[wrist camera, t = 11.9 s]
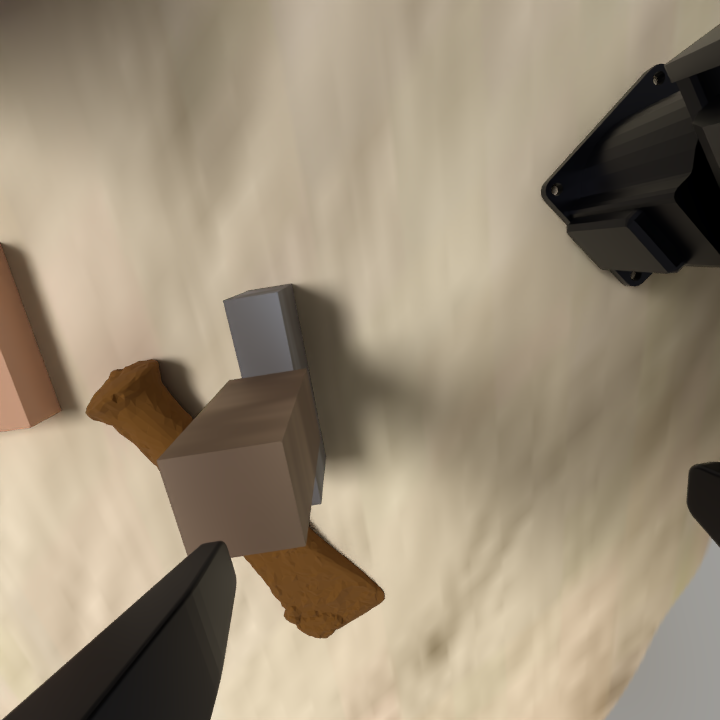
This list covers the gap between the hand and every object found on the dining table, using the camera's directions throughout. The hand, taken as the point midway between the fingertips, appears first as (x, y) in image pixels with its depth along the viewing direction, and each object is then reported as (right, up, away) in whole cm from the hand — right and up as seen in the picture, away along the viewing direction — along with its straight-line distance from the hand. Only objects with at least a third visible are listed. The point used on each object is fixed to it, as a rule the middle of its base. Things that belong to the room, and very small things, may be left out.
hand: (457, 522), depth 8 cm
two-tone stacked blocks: (-5, +2, +12) cm, 13 cm away
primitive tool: (-7, -5, +14) cm, 17 cm away
